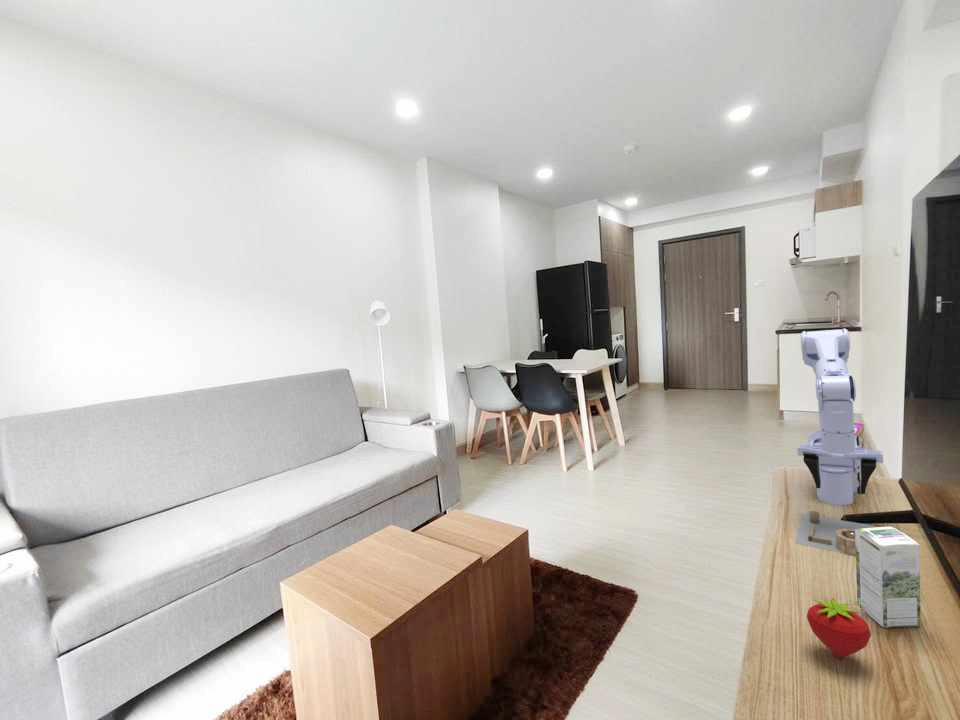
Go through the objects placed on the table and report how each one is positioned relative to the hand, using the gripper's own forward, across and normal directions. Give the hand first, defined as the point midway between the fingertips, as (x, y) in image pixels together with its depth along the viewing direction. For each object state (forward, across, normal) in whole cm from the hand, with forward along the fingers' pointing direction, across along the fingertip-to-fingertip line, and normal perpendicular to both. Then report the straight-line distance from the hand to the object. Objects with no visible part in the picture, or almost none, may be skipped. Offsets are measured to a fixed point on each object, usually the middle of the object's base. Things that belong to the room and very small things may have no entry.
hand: (840, 489), depth 98 cm
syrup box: (+10, +7, -28) cm, 31 cm away
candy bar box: (+10, +1, +27) cm, 29 cm away
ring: (+9, +2, -8) cm, 13 cm away
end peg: (+9, +2, -8) cm, 13 cm away
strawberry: (+10, +1, -42) cm, 43 cm away
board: (+10, -1, -4) cm, 11 cm away
